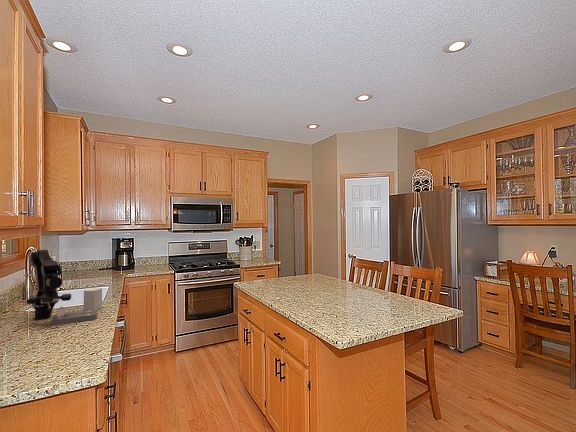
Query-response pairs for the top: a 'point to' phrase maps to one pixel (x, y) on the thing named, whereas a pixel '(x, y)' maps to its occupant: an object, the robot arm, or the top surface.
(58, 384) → the top surface
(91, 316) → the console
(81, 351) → the top surface
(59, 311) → the fader
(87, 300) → the supplement box
